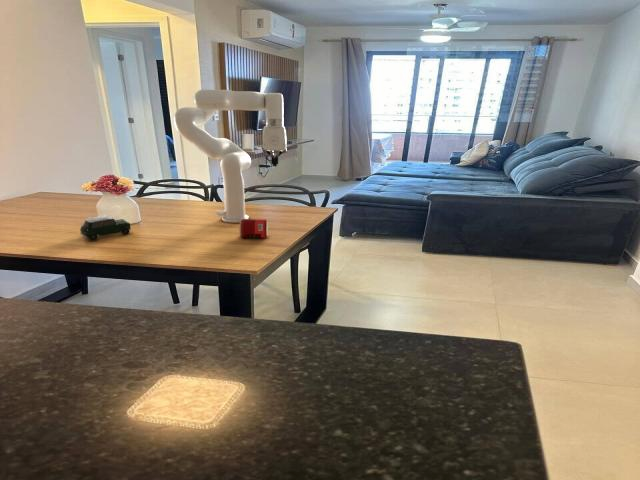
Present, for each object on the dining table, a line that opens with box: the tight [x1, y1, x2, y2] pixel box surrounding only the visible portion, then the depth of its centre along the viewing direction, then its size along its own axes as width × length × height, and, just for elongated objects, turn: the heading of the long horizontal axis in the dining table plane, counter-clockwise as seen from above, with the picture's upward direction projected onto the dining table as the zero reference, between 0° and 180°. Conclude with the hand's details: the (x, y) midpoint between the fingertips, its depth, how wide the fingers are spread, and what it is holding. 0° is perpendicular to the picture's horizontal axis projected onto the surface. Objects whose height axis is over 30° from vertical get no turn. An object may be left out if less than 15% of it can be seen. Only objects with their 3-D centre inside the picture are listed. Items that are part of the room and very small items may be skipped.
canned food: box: [238, 218, 269, 239], centre depth 159 cm, size 8×8×11 cm
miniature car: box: [79, 214, 132, 242], centre depth 156 cm, size 9×18×8 cm, turn 134°
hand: (274, 165), depth 171 cm, fingers closed
